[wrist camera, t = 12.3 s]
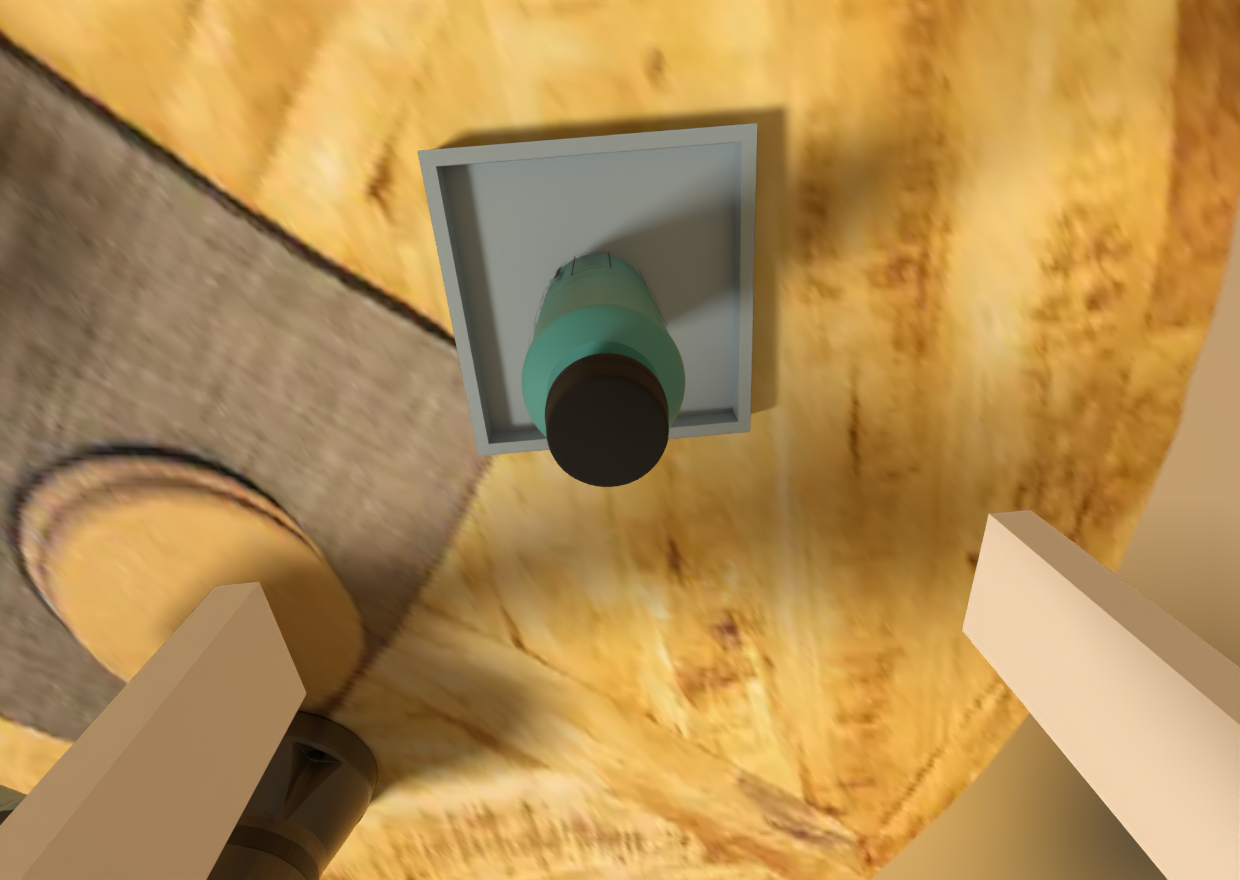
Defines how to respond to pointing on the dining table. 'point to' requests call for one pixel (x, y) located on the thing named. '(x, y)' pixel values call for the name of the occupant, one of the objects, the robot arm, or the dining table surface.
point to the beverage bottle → (602, 372)
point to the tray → (599, 221)
